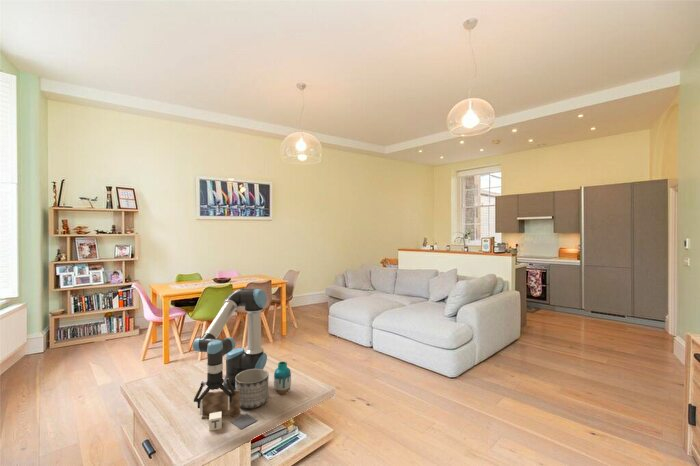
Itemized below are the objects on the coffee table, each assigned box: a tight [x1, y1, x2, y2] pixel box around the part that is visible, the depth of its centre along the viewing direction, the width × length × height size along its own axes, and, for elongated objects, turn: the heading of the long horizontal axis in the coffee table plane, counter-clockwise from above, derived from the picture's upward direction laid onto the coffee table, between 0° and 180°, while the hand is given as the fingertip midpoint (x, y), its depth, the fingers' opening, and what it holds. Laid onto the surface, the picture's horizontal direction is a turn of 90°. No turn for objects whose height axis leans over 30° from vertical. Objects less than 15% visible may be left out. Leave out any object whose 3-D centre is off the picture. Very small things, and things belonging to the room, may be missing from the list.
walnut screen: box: [201, 390, 241, 420], centre depth 185 cm, size 20×6×13 cm, turn 97°
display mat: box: [230, 413, 258, 430], centre depth 178 cm, size 10×10×1 cm
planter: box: [235, 369, 270, 409], centre depth 197 cm, size 19×19×16 cm
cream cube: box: [208, 411, 223, 432], centre depth 174 cm, size 6×6×6 cm
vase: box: [273, 360, 292, 395], centre depth 209 cm, size 11×11×19 cm
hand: (214, 411), depth 173 cm, fingers open, 13 cm apart
